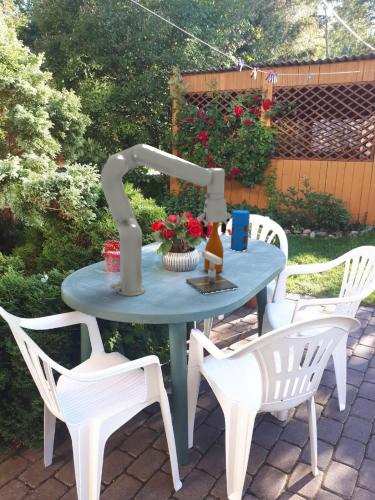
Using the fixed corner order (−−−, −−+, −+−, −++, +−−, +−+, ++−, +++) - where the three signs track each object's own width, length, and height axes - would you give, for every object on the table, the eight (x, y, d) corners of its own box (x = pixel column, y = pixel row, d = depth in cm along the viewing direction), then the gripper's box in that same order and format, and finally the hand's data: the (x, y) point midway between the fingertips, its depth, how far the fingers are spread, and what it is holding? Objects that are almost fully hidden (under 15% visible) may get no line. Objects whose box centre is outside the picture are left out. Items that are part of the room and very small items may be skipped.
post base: (203, 294, 166) (204, 278, 164) (186, 281, 182) (186, 266, 180) (237, 289, 174) (238, 273, 172) (217, 277, 189) (218, 262, 187)
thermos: (227, 248, 245) (229, 210, 238) (241, 247, 249) (243, 209, 242) (236, 252, 235) (238, 213, 228) (250, 251, 240) (253, 212, 233)
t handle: (216, 273, 169) (217, 259, 168) (201, 264, 182) (202, 251, 180) (221, 272, 171) (222, 258, 169) (206, 263, 183) (206, 250, 181)
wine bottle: (223, 269, 203) (226, 214, 195) (220, 274, 194) (223, 217, 186) (206, 267, 205) (208, 213, 197) (202, 272, 196) (204, 216, 188)
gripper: (202, 198, 160) (201, 237, 164) (236, 196, 167) (234, 233, 172) (194, 196, 166) (193, 233, 171) (227, 194, 174) (226, 230, 178)
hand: (214, 233), depth 171 cm, fingers open, 9 cm apart
